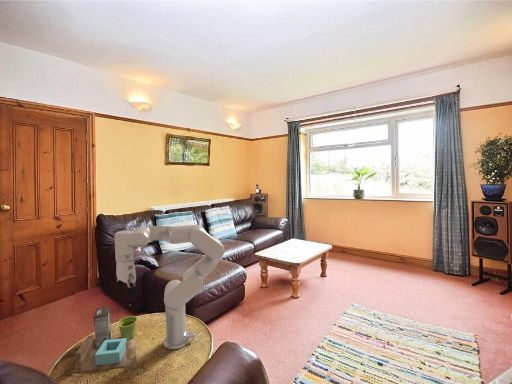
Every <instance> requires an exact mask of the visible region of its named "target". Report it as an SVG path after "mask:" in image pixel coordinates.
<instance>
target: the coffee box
mask: <svg viewBox="0 0 512 384" xmlns="http://www.w3.org/2000/svg"><path fill="white" fill-rule="evenodd" d="M111 315H112V314H111V306H110V305H109V306H108V305H107V306H101V307H97V308H96V309H95V312H94V315H93V323H94V340H95V341H94V345H95V349H98V348H100V347H101V345H102V344H103V342H104V341H105V340H111V339H112V335H113V333H112V332H113V331H112V317H111Z"/></svg>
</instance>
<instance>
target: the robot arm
mask: <svg viewBox="0 0 512 384" xmlns="http://www.w3.org/2000/svg"><path fill="white" fill-rule="evenodd" d="M151 241H164V242H167V243H169V244H173V245H174V244H175V245H176V244H185V243H186V244H188V243H191V245H192V246H193V247H195V248H196V249H197V250H199V251H200V252H201V253H203V254H204V255H203V256H202V257H201V258H200V259H199V260H198V261H197V262H195V263H194V264H193V265H191V266H190V267H189V268H188V269H186V271H185V272H183V276H182V281H181V280H179V279H173V280H170V281H169V282H168V283H166V286H165V288H164V295H163V296H164V297H163V304H164V306H165V309H164V310H165V334H166V335H165V338H164V339H163V343H162V344H163V347H164V348H166V349H168V350H177V349H178V350H179V349H182V348H184V347H185V346H186V345H187V344H188V343H189V341H190V339H195V337H196V336H195V335H196V334H195V333H194V332H193V331H188V329H187V326H186V324H187V322H186V304H187V303H189V302H190V301H191V300H192V299H193V298H194V297H195V296H196V295H197V294H199V293H200V292H201V290H202V289H203V286H204V279H205V278H206V277H207V276H208V275H209V274H210V273H212V272H213V271H214V270H215V269H216V268H217V266H218V264H219V263H220V260H221V258H223V256H224V255H225V247H224V244H223V243H222V241H221V240H220V239H219V238H217V237H212V236H211V235H210V234H209V233H208V232H207V231H206V230H205V228H204V227H203V226H202V225H200V224H190V225H189V224H188V225H174V226H173V225H171V226H169V225H168V226H167V225H153V226H143V227H142V226H141V227H140V228H138V229H136V231H134V232H132V231H131V230H125V229H124V230H119V231H117V232H116V233H114V250H115V262H116V267H115V269H116V270H115V274H116V282H117V283H116V284H117V290H118V291H122V290H124V289H125V288H126V284H127V288H126V290H127V296H128V297H131V296H134V295H135V294H136V284H137V282H136V281H137V275H136V266H135V261H134V259H135V258H134V248H143V247H146V246H147V245H148V244H149V242H151Z"/></svg>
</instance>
